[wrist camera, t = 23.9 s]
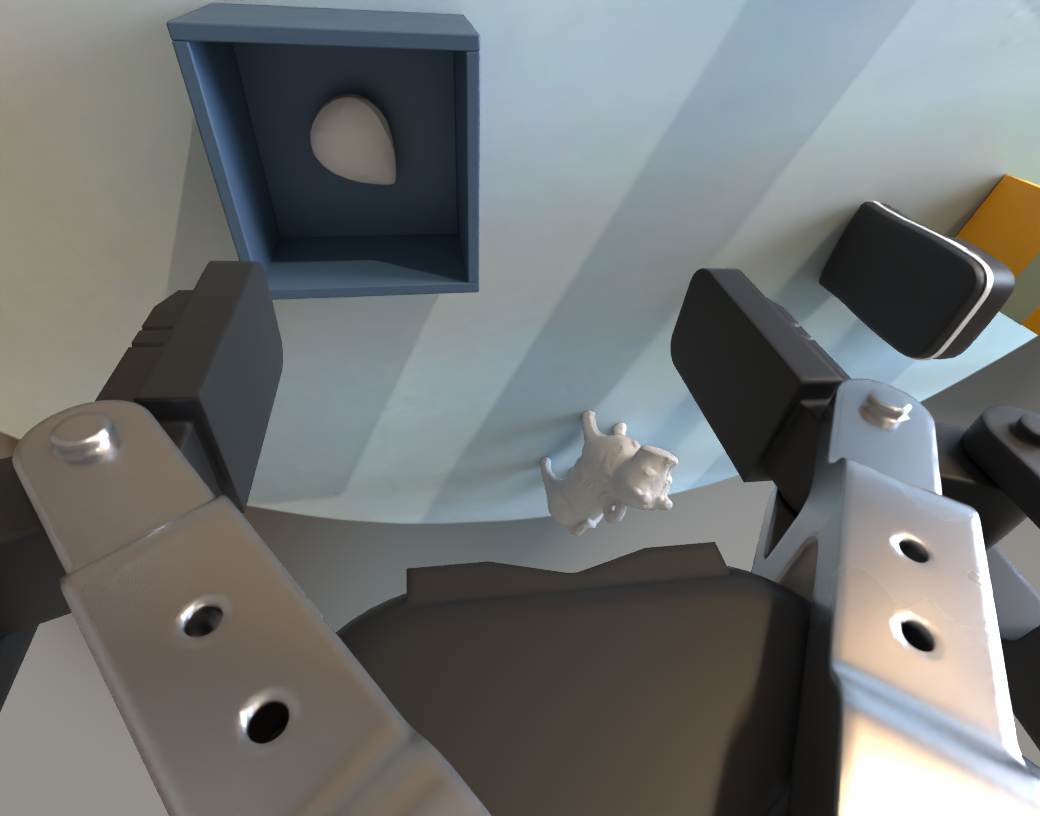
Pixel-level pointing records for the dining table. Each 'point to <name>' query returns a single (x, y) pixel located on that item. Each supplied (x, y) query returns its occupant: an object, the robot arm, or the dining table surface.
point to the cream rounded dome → (354, 140)
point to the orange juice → (1012, 243)
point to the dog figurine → (608, 479)
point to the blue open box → (298, 173)
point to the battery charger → (915, 283)
